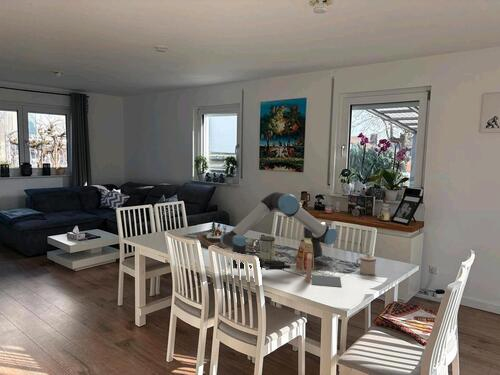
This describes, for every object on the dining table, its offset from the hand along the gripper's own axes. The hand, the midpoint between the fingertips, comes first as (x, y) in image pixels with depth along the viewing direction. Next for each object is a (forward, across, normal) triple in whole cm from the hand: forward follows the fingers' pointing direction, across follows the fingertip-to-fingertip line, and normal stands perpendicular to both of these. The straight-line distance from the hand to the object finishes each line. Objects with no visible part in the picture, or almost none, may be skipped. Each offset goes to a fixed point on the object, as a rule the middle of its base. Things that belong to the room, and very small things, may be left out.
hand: (295, 266), depth 214 cm
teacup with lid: (+41, -22, -7) cm, 47 cm away
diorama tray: (-62, -66, -7) cm, 92 cm away
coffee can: (-21, -35, -7) cm, 41 cm away
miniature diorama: (-64, -67, -7) cm, 93 cm away
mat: (+17, 0, -7) cm, 19 cm away
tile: (+7, 0, -7) cm, 10 cm away
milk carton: (+5, -20, -7) cm, 22 cm away
